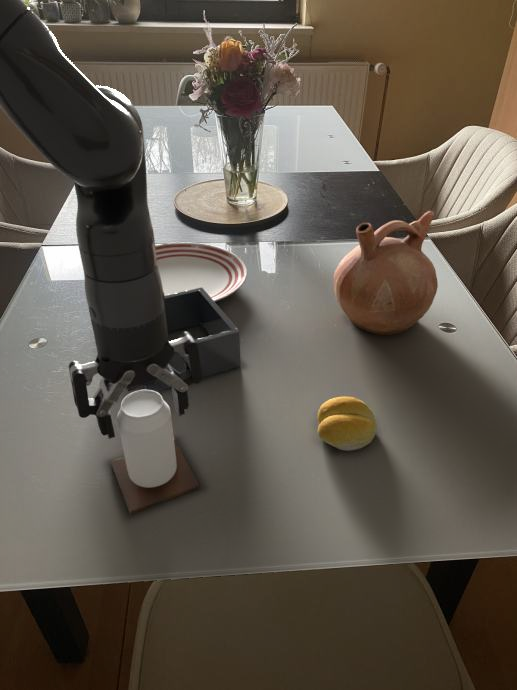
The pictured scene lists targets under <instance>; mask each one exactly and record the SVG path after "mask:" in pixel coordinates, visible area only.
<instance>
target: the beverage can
mask: <svg viewBox="0 0 517 690" xmlns="http://www.w3.org/2000/svg"><path fill="white" fill-rule="evenodd" d="M116 420H117V425H118V430H119V436H120V440H121V446H122V450H123V457H125V461H126V466H127V470H128V474H129V477H130V479H131V480H132V482H134V483H135V484H136V485H138V486H141V487H147V488H151V487H157V486H160V485H163V484H165V483H166V482H168V481H169V480H170V479H171V478H172V477H173V476H174V474H175V472H176V467H177V463H176V454H175V445H174V440H175V438H174V430H173V429H174V428H173V420H172V413H171V407H170V406H169V404H168V402H166V401H165V400H164V397H163V396H162V395H161V394H160V393H159V392H158V391H157V392H155V391H152V390H144V389H140V390H135V391H133V392H131V393H129V394H127V395H126V396H125V397H124V398H123V399H122V401H121V404H120V409H119V410H118V413H117V416H116Z"/></svg>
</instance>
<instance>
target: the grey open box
mask: <svg viewBox="0 0 517 690" xmlns="http://www.w3.org/2000/svg"><path fill="white" fill-rule="evenodd" d="M164 305H165V314H166V323H167V332H168V333H170V332H174V331H179V330H182V329H186V328H190V327H194V326H198V325H202V327H203V328H204V329H205V330H206V332H207V333H208V334H209V335H208V336H205V337H201V338H196V339H194V340H195V342H196V343H197V345H198V351H199V358H200V365H201V372H202V379H203V378H207V377H210V376H214V375H216V374H220V373H223V372H227V371H230V370H233V369H237V368H240V367H241V331H240V330H239V328H238V327H237V326H236V324H234V322H233V321H232V320H231V319H230V318H229V317H228V315H227V314H226V313H225V312H224V311H223V310H222V309H221V307H220V306H219V305H218V304H217V303H216V302H214V301H213V299H212V298H211V297H210V296H209V295H208V294H207V292H206V291H205V290H204V289H203V288H202V287H201V288H197V289H192V290H188V291H184V292H179V293H175V294H171V295H167V296H165V301H164ZM168 364H169V365H170V366H171V367H172V368H174V369H175V370H177V371H178V372H179V373H181V372H183V371H184V370H186V369H185V363H184V357H181V356H180V354H179V353H178V352H174V355H173V357H172V359H171V360H170V362H169V363H168ZM142 388H143V390H152V391H155V392H157V393H158V392H160V391H163V390H166V389H170V388H172V387H171V386H169V385H167V384H166V383H164V382H163V381H161V380H160V379H158V380H157V381H155V384H152V385H148V386H142Z"/></svg>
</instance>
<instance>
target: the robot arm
mask: <svg viewBox="0 0 517 690" xmlns="http://www.w3.org/2000/svg"><path fill="white" fill-rule="evenodd" d="M0 109H1V110H2V111H3V112H4V113H5V115H6V116H7V117H8V119H9V120H10V121H11V123H13V125H14V126H15V127H16V128H17V129H18V131H19V132H21V134H22V135H23V136H24V137H25V138H26V139H27V140H28V141H29V143H31V145H32V146H33V147H34V148H35V150H37V152H39V154H41V156H42V157H43V158H44V159H45V160H46V161H47V162H48V163H49V164H51V166H53V168H54V169H56V170H57V171H58V172H60V174H62V175H63V176H64V177H66V178H67V179H69V180H70V181H72V182H73V185H74V190H75V194H76V201H77V211H76V216H75V217H76V219H75V231H76V232H75V233H76V239H77V245H78V250H79V255H80V260H81V265H82V270H83V275H84V292H85V297H86V303H87V308H88V313H89V317H90V322H91V323H90V324H91V327H92V333H93V337H94V341H95V347H96V351H97V355H96V358H95V361H92V362H87V363H83V364H81V363H80V362H79V361H78V360H73V361H70V362H69V364H68V370H69V376H70V383H71V384H70V385H71V389H72V394H73V400H74V404H75V406H76V408H77V413H78V416H79V418H81V419H85V418H86V419H87V417H89V416H95V417H96V423H97V426H98V429H99V431H100V434H101V435H102V436H103V437H104V436H107V438H108V439H109V440H110V439H114V438H115V437H116V434H115V430H114V425H113V419H112V415H111V412H110V410H111V408H112V407H113V405H114V404H115V403H118V401H119V400H120V399H121V397H122V396H123V394H124V392H125V391H127V392H131V391H134V390H135V391H136V390H137V389H139V388H141V387H143V386H148V385H152V384H155V381H157V380H158V379H160V380H161V381H163V382H164V383H166V384H167V385H169V386H171V387H170V388H171V393H172V403H173V407H174V410H175V411H176V414H177V415H178V416H179V417H181V416H183V415H185V414H186V410H188V409H189V406H190V405H189V391H188V389H189V387H190V386H191V385H193V384H200V383H201V382H202V381H203V378H202V372H201V365H200V358H199V351H198V345H197V343H196V342H195V340H196V339H195V338H194V337H193V336H192V335H191V333H190V332H189V331H183V332H181V334H180V335H179V338H177V339H174V340H171V341H169V335H168V334H169V332H167V323H166V314H165V305H164V301H165V295H164V292H163V287H162V281H161V277H160V273H159V270H158V265H157V257H156V248H155V245H156V240H155V234H154V233H155V232H154V227H153V221H152V218H151V213H150V208H149V201H148V178H147V164H146V163H147V161H146V146H145V134H144V133H145V132H144V126H143V122H142V120H141V116H140V114H139V112H138V110H137V108H136V107H135V105H133V103H132V102H131V101H130V99H128V98H127V97H126V96H125V95H124V94H122V93H121V92H119V91H117V90H116V89H113V88H110V87H108V86H101V85H100V86H99V85H96V86H95V85H94V84H93V83H92V82H91V81H90V80H89V79H88V78H87V77H86V76H85V74H83V73H82V72H81V71H80V70H79V69H78V68H77V67H76V66H75V64H73V62H71V60H69V58H67V56H65V54H64V53H63V52H62V50H61V49H60V47H59V44H58V42H57V39H56V37H55V36H54V34H53V33H52V31H51V30H50V29H49V27H48V26H47V25H46V24H45V23H44V22H43V21H42V20H41V18H40V17H39V16H38V15H37V14H36V13H35V12H34V11H33V10H30V7H29V6H28V5H27V4H26V3H25V2H24V1H23V0H0ZM174 352H178V353H179V354H180V356H181V357H184V363H185V369H186V370H184V371H183V372H181V373H179V372H178V371H177V370H175V369H174V368H172V367H171V366H170V365H169V364H168V363H169V362H170V360H171V359H172V357H173V355H174ZM96 374H98V375H99V376H100V377H101V379H100V381H99V385H98V388H97V390H96V392H95V394H94V395H93V397H91V398H90V397H89V394H88V393H89V392H88V387H89V386H90V385H91V383H92V382H93V378H94V376H95V375H96Z"/></svg>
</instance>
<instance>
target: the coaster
mask: <svg viewBox="0 0 517 690" xmlns="http://www.w3.org/2000/svg"><path fill="white" fill-rule="evenodd" d="M174 445H175V454H176V463H177V467H176V472H175V474H174V476H173V477H172V478H171V479H170V480H169V481H168V482H166V483H165V484H163V485H160V486H157V487H151V488H147V487H141V486H138V485H136V484H135V483H134V482H132V480H131V479H130V477H129V474H128V470H127V466H126V461H125V456H123V457H120V458H117V459H114V460H112V461H110V465H111V468H112V470H113V472H114V475H115V478H116V481H117V484H118V486H119V489H120V492H121V494H122V497H123V501H124V502H125V505H126V508H127V511H128V513H129V515H132V514H135V513H138V512H140V511H142V510H145V509H148V508H151V507H154V506H155V505H159V504H161V503H164V502H167V501H169V500H172V499H174V498H177V497H180V496H182V495H185V494H188V493H190V492H193V491H195V490H198V489H200V484H199V481H198V480H197V479H196V477H195V475H194V473H193V471H192V469H191V467H190V465H189V463H188V461H187V460H186V458H185V456H184V454H183V452H182V450H181V448H180V446H179V444H178V442H177V440H176V439H174Z"/></svg>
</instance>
